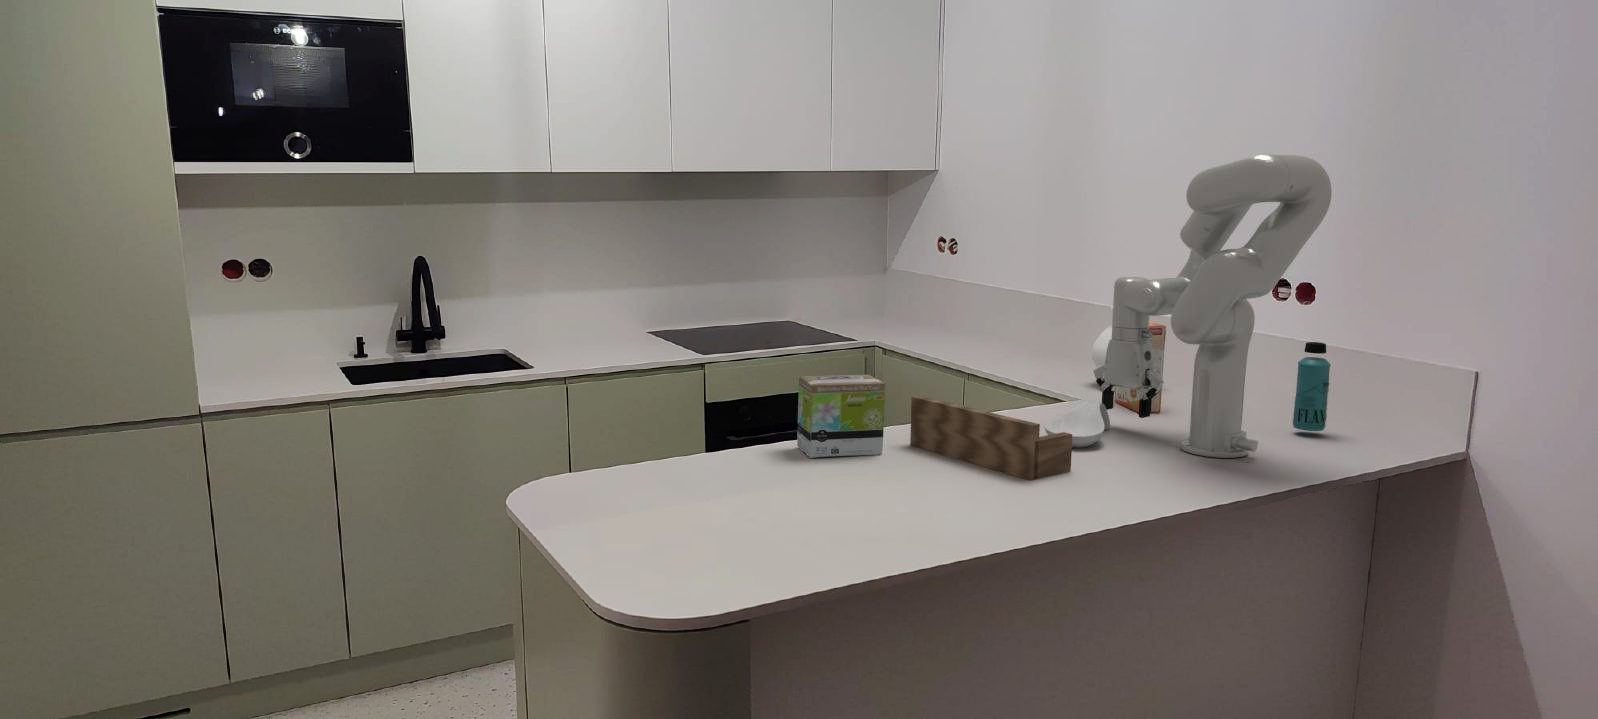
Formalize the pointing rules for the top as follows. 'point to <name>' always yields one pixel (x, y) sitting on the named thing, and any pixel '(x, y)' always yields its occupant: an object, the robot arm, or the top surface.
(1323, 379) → the beverage bottle
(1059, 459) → the stand
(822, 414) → the tea box
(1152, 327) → the cracker box
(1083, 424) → the spoon rest
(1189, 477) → the top surface
